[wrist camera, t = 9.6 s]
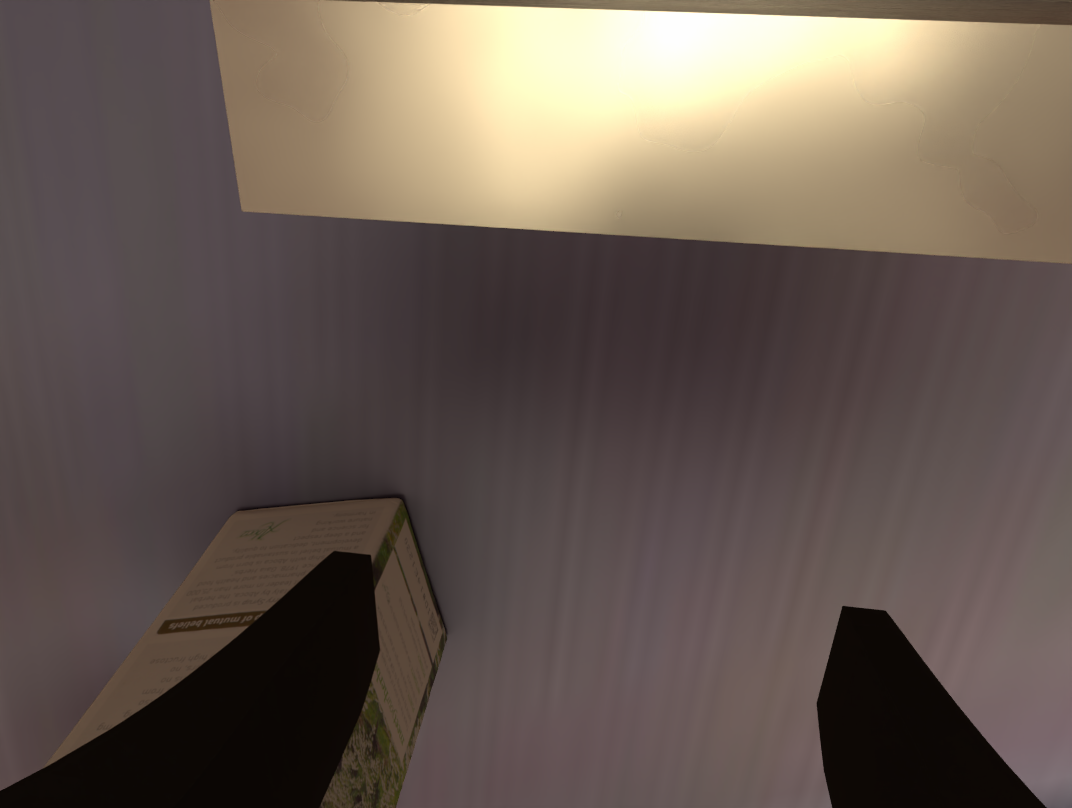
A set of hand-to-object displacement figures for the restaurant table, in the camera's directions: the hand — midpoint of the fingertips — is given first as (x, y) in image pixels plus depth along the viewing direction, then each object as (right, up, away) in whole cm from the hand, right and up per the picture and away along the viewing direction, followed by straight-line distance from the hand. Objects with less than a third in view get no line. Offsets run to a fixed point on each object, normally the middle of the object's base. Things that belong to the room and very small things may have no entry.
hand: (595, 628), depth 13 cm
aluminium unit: (+2, +11, +5) cm, 12 cm away
